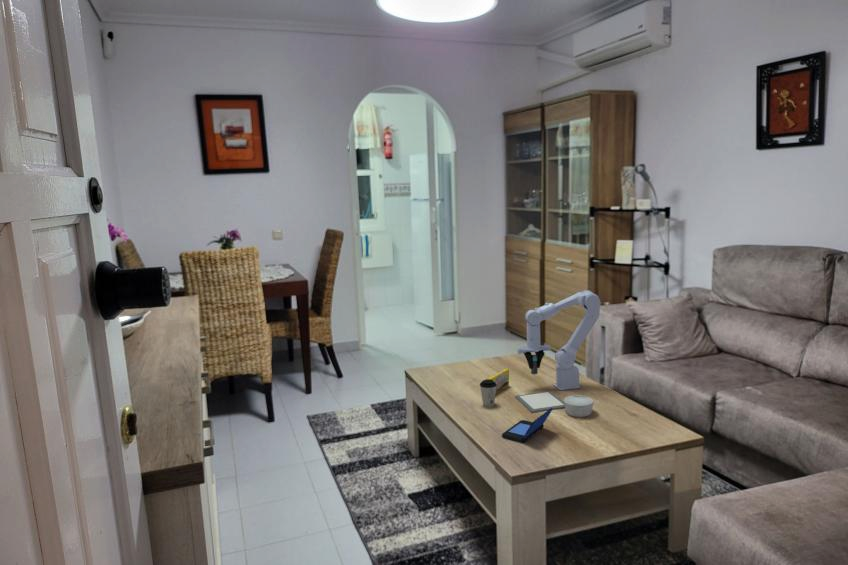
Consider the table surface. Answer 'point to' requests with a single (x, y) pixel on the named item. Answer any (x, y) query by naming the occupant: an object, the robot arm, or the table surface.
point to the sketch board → (540, 401)
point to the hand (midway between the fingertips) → (534, 367)
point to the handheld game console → (526, 428)
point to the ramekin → (578, 405)
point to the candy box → (501, 380)
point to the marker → (534, 365)
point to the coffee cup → (488, 392)
